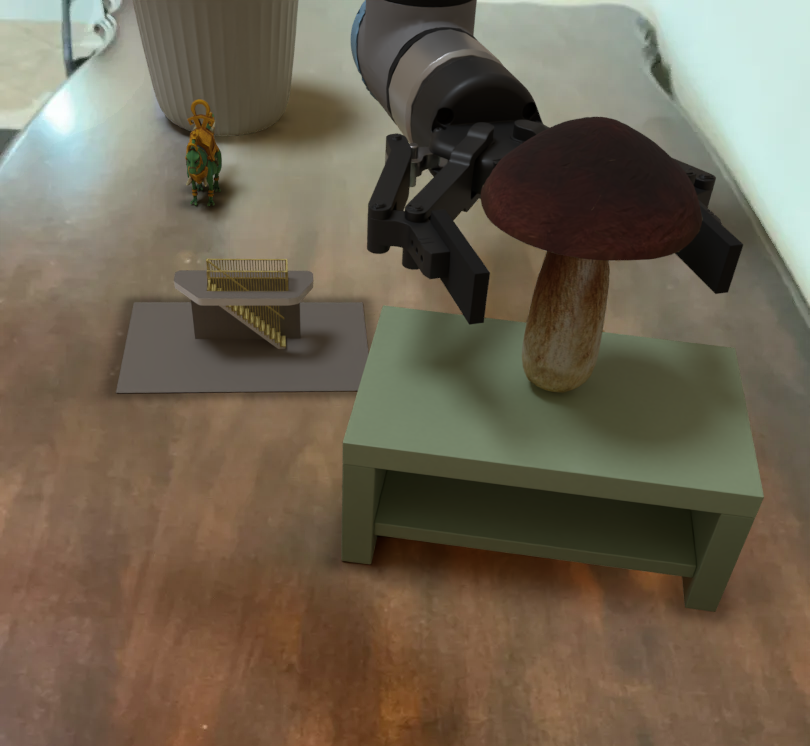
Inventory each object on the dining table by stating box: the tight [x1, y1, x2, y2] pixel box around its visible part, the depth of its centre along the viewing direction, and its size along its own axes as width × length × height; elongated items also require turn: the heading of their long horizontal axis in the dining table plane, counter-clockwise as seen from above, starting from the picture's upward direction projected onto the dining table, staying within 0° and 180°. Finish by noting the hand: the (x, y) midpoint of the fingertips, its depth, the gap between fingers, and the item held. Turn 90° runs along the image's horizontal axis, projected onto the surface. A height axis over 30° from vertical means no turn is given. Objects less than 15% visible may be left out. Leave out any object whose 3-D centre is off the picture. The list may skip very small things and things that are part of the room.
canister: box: [131, 0, 299, 137], centre depth 96 cm, size 18×18×21 cm
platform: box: [115, 258, 369, 394], centre depth 71 cm, size 12×18×7 cm, turn 95°
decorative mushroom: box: [480, 116, 702, 393], centre depth 51 cm, size 11×11×15 cm
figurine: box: [184, 99, 223, 207], centre depth 88 cm, size 3×12×8 cm, turn 179°
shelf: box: [340, 304, 765, 613], centre depth 59 cm, size 22×14×9 cm, turn 82°
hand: (609, 284), depth 48 cm, fingers open, 13 cm apart
